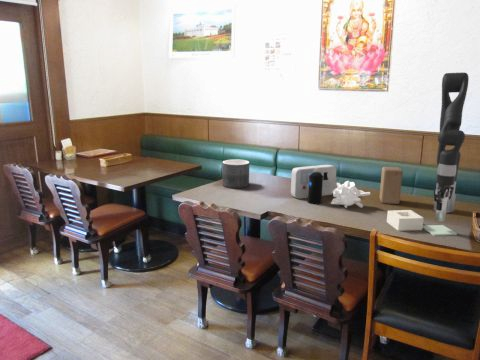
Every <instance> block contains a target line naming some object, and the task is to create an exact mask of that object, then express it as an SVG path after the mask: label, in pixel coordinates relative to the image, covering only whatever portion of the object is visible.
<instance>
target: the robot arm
mask: <svg viewBox="0 0 480 360" xmlns="http://www.w3.org/2000/svg"><path fill="white" fill-rule="evenodd" d="M469 79H470V78H469V73H467V72H447V73H444V74H443V76H442V80H441V81H442V82H441V110H440V119H439V133H438V136H437V142H438V147H437V154H436V164H437V173H436V180H435V183H436V187H435V189H434V190H433V211H435V212H436V210H439V211H441V210H442V203H443V199H444V198H445V196H446V193H447V191H448V192H449V196H448V200H447V207H446V214H448V213H453V212H454V211H455V206H456V205H455V204H456V199H457V198H456V197H457V194H455V192H456V185H457V178H458V172H459V167H460V162H461V157H462V156H461V152H460V150H461V148H462V145H463V143H464V142H465V139H466V134H465V132H464V131H463V130H460V129H461V125H462V122H463V121H462V120H463V119H462V117H463V109H464V105H465V101H466V97H467V92H468V89H469ZM451 93H458V94H457V96H455V98H454V99H453V100H452V99H451V96H450V94H451ZM447 146H450V147H451V146H452V147H453V148H452V149H446V147H447ZM441 195H443V196H441Z"/></svg>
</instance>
